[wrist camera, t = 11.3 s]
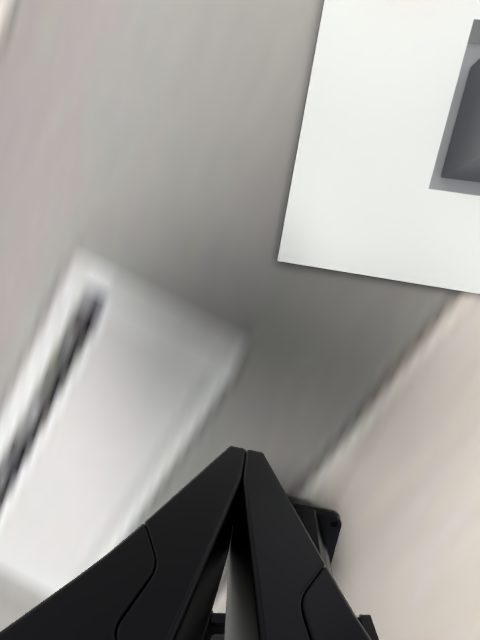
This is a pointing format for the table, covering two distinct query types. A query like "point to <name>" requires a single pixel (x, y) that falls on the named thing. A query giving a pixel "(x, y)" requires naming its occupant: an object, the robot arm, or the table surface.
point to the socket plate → (386, 145)
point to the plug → (466, 133)
